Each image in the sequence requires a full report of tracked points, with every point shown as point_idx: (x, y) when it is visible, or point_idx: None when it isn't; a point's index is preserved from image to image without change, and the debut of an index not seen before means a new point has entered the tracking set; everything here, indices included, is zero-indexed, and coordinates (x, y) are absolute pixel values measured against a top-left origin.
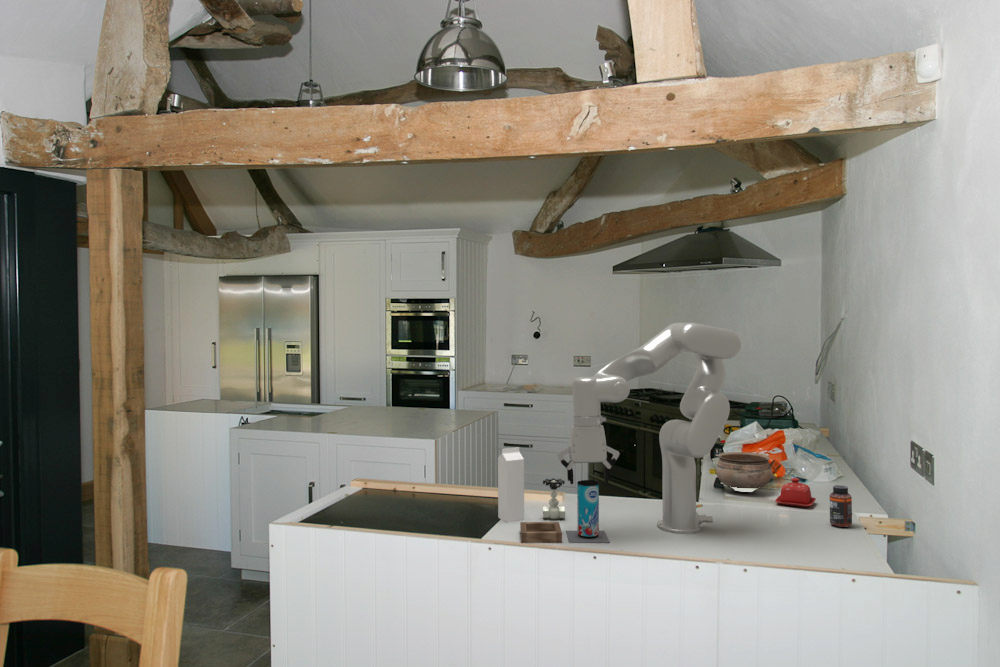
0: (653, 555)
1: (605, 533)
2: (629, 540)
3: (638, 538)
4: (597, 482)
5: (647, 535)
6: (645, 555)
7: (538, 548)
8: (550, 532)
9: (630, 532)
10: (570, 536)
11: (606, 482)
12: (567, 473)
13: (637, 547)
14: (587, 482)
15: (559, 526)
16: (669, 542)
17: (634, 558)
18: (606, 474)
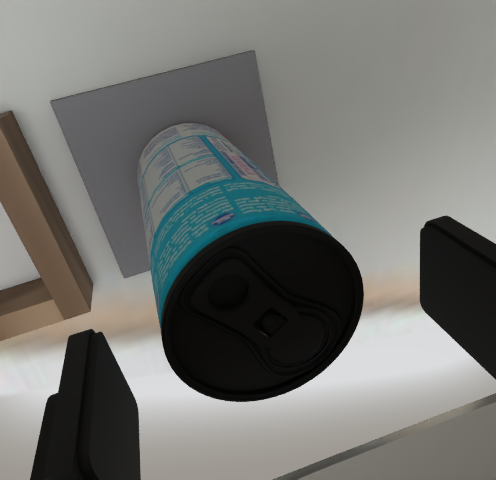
0: (410, 292)
1: (262, 106)
2: (356, 156)
3: (393, 118)
4: (352, 276)
5: (434, 62)
6: (388, 300)
7: (14, 360)
8: (31, 321)
9: (372, 25)
10: (106, 199)
11: (429, 310)
12: (39, 456)
13: (375, 233)
14: (262, 312)
15: (39, 215)
16: (489, 143)
17: (355, 334)
18: (484, 360)
